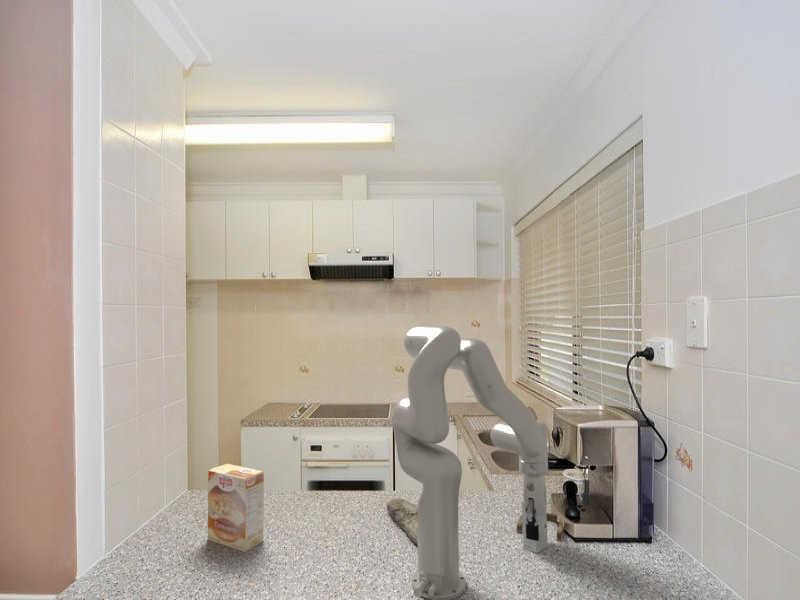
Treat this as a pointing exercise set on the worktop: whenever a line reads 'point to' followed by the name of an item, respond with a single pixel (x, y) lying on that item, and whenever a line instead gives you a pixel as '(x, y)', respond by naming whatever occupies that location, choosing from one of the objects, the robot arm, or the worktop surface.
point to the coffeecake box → (235, 506)
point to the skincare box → (542, 522)
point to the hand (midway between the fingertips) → (534, 532)
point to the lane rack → (550, 517)
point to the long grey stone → (405, 516)
